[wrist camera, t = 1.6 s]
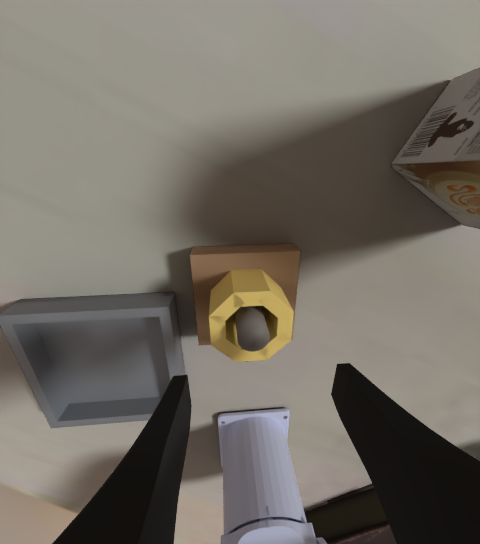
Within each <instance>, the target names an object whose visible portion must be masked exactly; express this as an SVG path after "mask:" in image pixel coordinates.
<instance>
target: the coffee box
mask: <svg viewBox="0 0 480 544" xmlns="http://www.w3.org/2000/svg"><path fill="white" fill-rule="evenodd" d="M391 166H392V168H393V169H395V170H396V171H397V172H398V173H399V174H401V175H402V176H403V177H404V178H405V179H407V180H408V181H409V182H410V183H411V184H413V185H414V186H415V187H416V188H418V189H419V190H420V191H421V192H423V193H424V194H425V195H426V196H427V197H429V198H430V199H431V200H432V201H434V202H435V203H436V204H437V205H438V206H440V207H441V208H442V209H443V210H445V211H446V212H447V213H448V214H450V215H451V216H452V217H453V218H455V219H456V220H457V221H458V222H460V223H461V224H462V225H464V226H468V227H473V228H478V229H480V68H477V69H475V70H472V71H470V72H468V73H465V74H463V75H460V76H458V77H456V78H454V79H453V80H452V81H451V82H450V83H449V84H448V85H447V87H446V88H445V89H444V91H443V92H442V94H441V95H440V96H439V98H438V99H437V101H436V102H435V103H434V105H433V106H432V107H431V109H430V110H429V112H428V113H427V114H426V116H425V117H424V119H423V120H422V121H421V123H420V124H419V125H418V127H417V128H416V130H415V131H414V132H413V134H412V135H411V137H410V138H409V139H408V141H407V142H406V144H405V145H404V146H403V148H402V149H401V150H400V152H399V153H398V155H397V156H396V157H395V159H394V160H393V161H392V163H391Z"/></svg>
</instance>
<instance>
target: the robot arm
mask: <svg viewBox="0 0 480 544" xmlns="http://www.w3.org/2000/svg"><path fill="white" fill-rule="evenodd" d="M331 395H332V398H333V401H334V403H335V406H336V409H337V411H338V414H339V416H340V419H341V421H342V423H343V425H344V427H345V429H346V431H347V433H348V435H349V437H350V439H351V441H352V443H353V445H354V447H355V449H356V451H357V453H358V455H359V456H360V458H361V460H362V462H363V464H364V466H365V468H366V470H367V472H368V475H369V477H370V479H371V481H372V483H373V486H374V488H375V490H376V493H377V495H378V498H379V500H380V503H381V505H382V507H383V510H384V512H385V515H386V517H387V520H388V523H389V525H390V528H391V530H392V533H393V535H394V538H395V541H396V543H397V544H480V461H478V460H477V459H475V458H474V457H472V456H470V455H469V454H467V453H465V452H464V451H462V450H461V449H459V448H458V447H456V446H455V445H453V444H451V443H450V442H448V441H447V440H446V439H444V438H443V437H441V436H440V435H438V434H437V433H435V432H434V431H433V430H431V429H430V428H428V427H427V426H426V425H424V424H423V423H421V422H420V421H419V420H417V419H416V418H415V417H413V416H412V415H411V414H410V413H408V412H407V411H406V410H404V409H403V408H402V407H401V406H399V405H398V404H397V403H396V402H394V401H393V400H392V399H391V398H389V397H388V396H387V395H386V394H385V393H383V392H382V391H381V390H380V389H379V388H378V387H376V386H375V385H374V384H373V383H372V382H371V381H369V380H368V379H367V378H366V377H365V376H364V375H362V374H361V373H360V372H359V371H358V370H357V369H356V368H354V367H353V366H352V365H351V364H350V363H346V364H337V368H336V373H335V378H334V383H333V388H332V393H331ZM289 416H290V412H289V410H288V409H287V408H283V409H271V410H259V411H247V412H235V413H223V414H219V415H218V430H219V444H220V458H221V467H222V468H223V508H224V535H222V536H221V544H327V543H326V541H325V540H324V539H323V538H321V537H320V538H316V537H315V533H314V529H313V526H312V523H307V521H306V517H305V513H304V508H303V504H302V500H301V496H300V492H299V488H298V484H297V480H296V476H295V472H294V468H293V464H292V460H291V456H290V452H289V448H288V444H287V436H288V426H289ZM190 419H191V398H190V391H189V384H188V376H187V375H177V376H173V377H172V379H171V381H170V383H169V385H168V387H167V389H166V391H165V393H164V395H163V397H162V398H161V400H160V402H159V404H158V406H157V407H156V409H155V411H154V412H153V414H152V416H151V418H150V419H149V421H148V423H147V424H146V426H145V427H144V429H143V430H142V432H141V433H140V435H139V436H138V438H137V439H136V441H135V443H134V444H133V445H132V447H131V448H130V450H129V451H128V453H127V454H126V455H125V457H124V458H123V460H122V461H121V462H120V464H119V465H118V466H117V468H116V469H115V470H114V472H113V473H112V474H111V475H110V477H109V478H108V479H107V481H106V482H105V483H104V484H103V486H102V487H101V488H100V489H99V491H98V492H97V493H96V494H95V496H94V497H93V498H92V499H91V500H90V502H89V503H88V504H87V505H86V506H85V507H84V509H83V510H82V511H81V512H80V513H79V514H78V515H77V516H76V518H75V519H74V520H73V521H72V522H71V523H70V524H69V526H68V527H67V528H66V529H65V530H64V531H63V532H62V533H61V535H60V536H59V537H58V538H57V539H56V540H55V541H54V542H53V543H52V544H174V533H175V523H176V513H177V503H178V496H179V489H180V483H181V477H182V471H183V466H184V460H185V454H186V448H187V442H188V437H189V430H190Z"/></svg>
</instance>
